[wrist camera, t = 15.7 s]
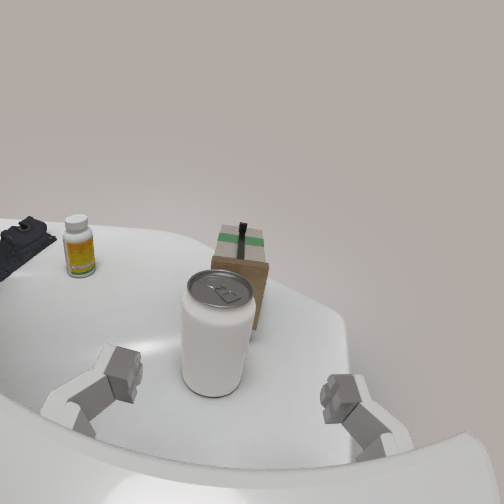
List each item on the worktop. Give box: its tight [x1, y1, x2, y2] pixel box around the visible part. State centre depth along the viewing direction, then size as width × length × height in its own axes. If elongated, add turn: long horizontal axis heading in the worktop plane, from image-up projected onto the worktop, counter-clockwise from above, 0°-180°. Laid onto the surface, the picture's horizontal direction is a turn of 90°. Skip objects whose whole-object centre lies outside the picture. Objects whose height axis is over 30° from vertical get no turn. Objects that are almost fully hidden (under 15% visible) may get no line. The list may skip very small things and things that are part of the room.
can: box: [181, 270, 256, 397], centre depth 25 cm, size 6×6×12 cm
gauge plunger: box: [211, 222, 269, 330], centre depth 34 cm, size 10×6×10 cm, turn 1°
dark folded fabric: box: [0, 216, 57, 282], centre depth 39 cm, size 15×22×5 cm
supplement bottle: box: [63, 214, 95, 278], centre depth 39 cm, size 5×5×10 cm
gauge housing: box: [214, 225, 266, 263], centre depth 39 cm, size 10×7×10 cm, turn 1°
